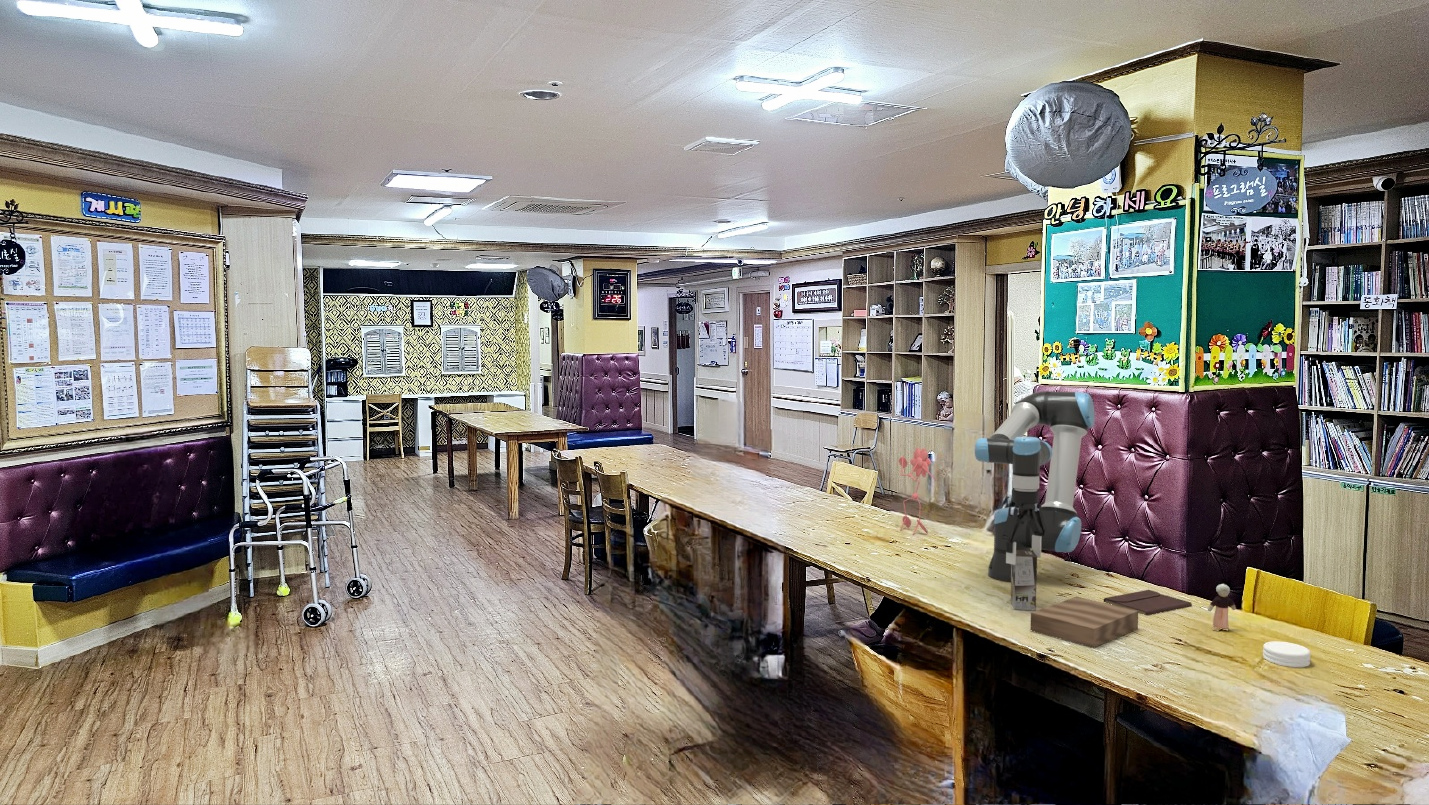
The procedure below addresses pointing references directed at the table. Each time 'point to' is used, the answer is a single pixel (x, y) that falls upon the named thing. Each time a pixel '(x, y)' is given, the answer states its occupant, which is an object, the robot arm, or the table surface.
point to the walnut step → (1084, 621)
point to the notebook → (1147, 602)
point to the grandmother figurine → (1221, 607)
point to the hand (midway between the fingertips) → (1023, 560)
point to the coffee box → (1024, 580)
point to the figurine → (919, 467)
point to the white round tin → (1286, 654)
